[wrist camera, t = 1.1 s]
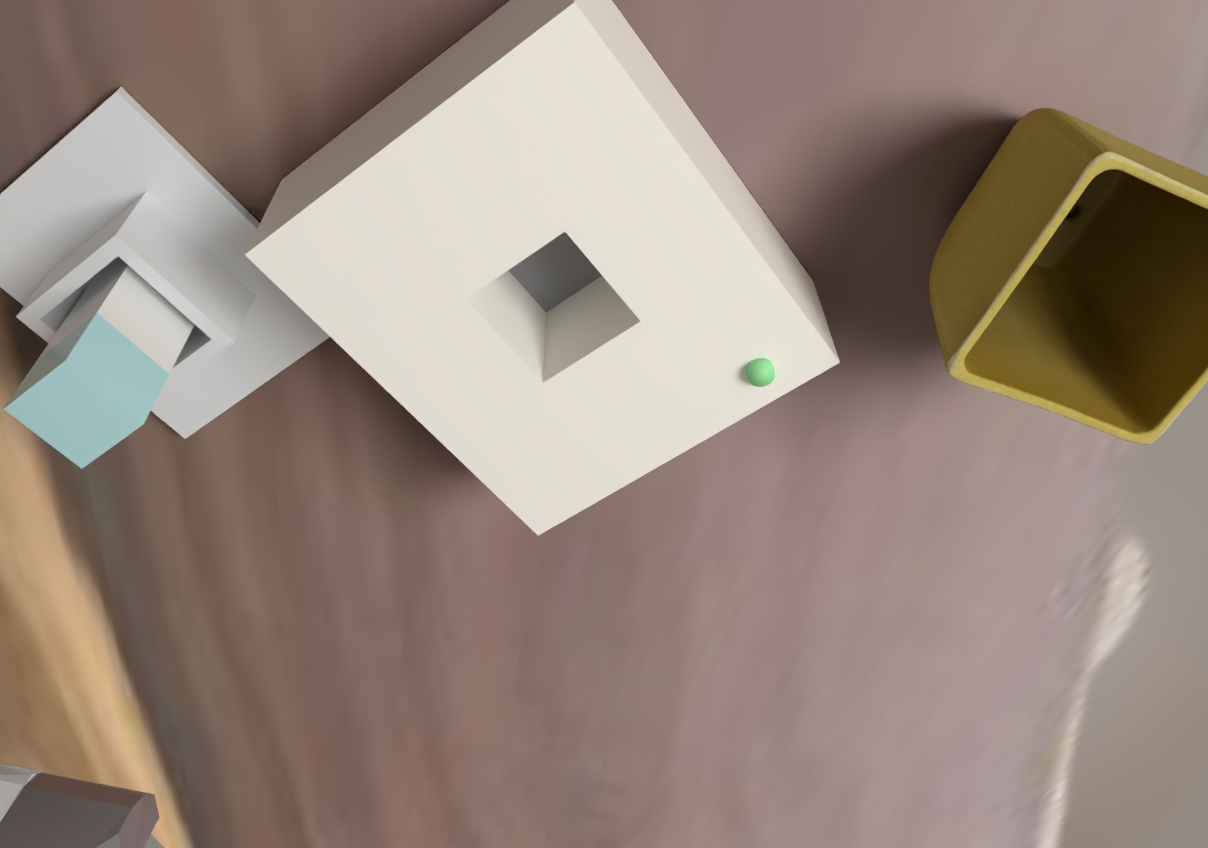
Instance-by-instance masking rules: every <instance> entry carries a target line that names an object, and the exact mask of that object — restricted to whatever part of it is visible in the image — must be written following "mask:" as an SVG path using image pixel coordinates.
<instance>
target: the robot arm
mask: <svg viewBox="0 0 1208 848" xmlns="http://www.w3.org/2000/svg"><path fill="white" fill-rule="evenodd" d="M158 819H159V813H158V809H157V804H156V799H155V795H154V794H149V793H144V792H139V791H134V790H129V789H123V788H118V787H113V786H108V785H103V784H98V783H93V782H87V781H82V780H77V779H72V778H67V777H62V776H57V775H51V774H48V773H45V772H41V771H36V770H30V769H25V768H19V767H14V766H8V765H3V764H0V848H164V847H163V846H162V845H161V844H160V843H159V842H158V841H157V840H156V839H155V838H154V837H153V836H152V835H151V832H152V830H153V828H154V826H155V824H156V822H157V821H158Z"/></svg>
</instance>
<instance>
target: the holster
mask: <svg viewBox="0 0 1208 848" xmlns="http://www.w3.org/2000/svg"><path fill="white" fill-rule="evenodd" d="M259 225H260V223H259V222H258V221H257V220H256V219H255V218H254V217H253V216H252V215H251V214H250V213H249V212H248V211H247V210H246V209H245V208H244V207H243V206H242V205H241V204H240V203H239V202H238V201H237V200H236V199H235V198H234V197H233V196H232V195H231V194H230V193H229V192H228V191H227V190H226V189H225V188H224V187H223V186H222V185H221V184H220V183H219V182H218V181H217V180H216V179H215V178H214V177H213V176H212V175H211V174H209V173H208V172H207V171H206V170H205V169H204V168H203V167H202V166H201V165H200V164H199V163H198V162H197V161H196V160H195V159H194V158H193V157H192V156H191V155H190V154H189V153H188V152H187V151H186V150H185V149H184V148H183V147H182V146H181V145H180V144H179V143H178V142H177V141H176V140H175V139H174V138H173V137H172V136H171V135H170V134H169V133H168V132H167V131H166V130H165V129H164V128H163V127H162V126H161V125H160V124H159V123H158V122H157V121H156V120H155V119H154V118H153V117H152V116H150V115H149V114H148V113H147V112H146V111H145V110H144V109H143V108H142V107H141V106H140V105H139V104H138V103H137V102H136V101H135V100H134V99H133V98H132V97H131V96H130V95H129V94H128V93H127V92H126V91H125V90H124V89H123V88H122V87H120V88H119V89H118V90H116V91H115V92H114V93H113V94H112V95H111V96H110V97H109V98H107V99H106V100H105V101H104V102H103V103H102V104H101V105H100V106H98V107H97V108H96V109H95V110H94V111H93V112H92V113H90V114H89V115H88V116H87V117H86V118H85V119H84V120H83V121H81V122H80V123H79V124H78V125H77V126H76V127H75V128H74V129H72V130H71V131H70V132H69V133H68V134H67V135H66V136H64V137H63V138H62V139H61V140H60V141H59V142H58V143H57V144H55V145H54V146H53V147H52V148H51V149H50V150H49V151H48V152H46V153H45V154H44V155H43V156H42V157H41V158H40V159H38V160H37V161H36V162H35V163H34V164H33V165H32V166H31V167H29V168H28V169H27V170H26V171H25V172H24V173H23V174H22V175H20V176H19V177H18V178H17V179H16V180H15V181H14V182H13V183H11V184H10V185H9V186H8V187H7V188H6V189H5V190H3V191H2V192H1V193H0V287H1V288H2V289H3V290H5V291H6V292H7V293H8V294H10V295H11V296H12V297H13V298H14V299H16V300H17V301H18V302H19V303H20V304H22V305H23V306H24V307H23V308H22V309H21V311H20V312H19V313H18V314H17V316H16V317H17V318H18V319H19V320H20V321H22V322H23V323H24V324H25V325H27V326H28V327H29V328H30V329H31V330H33V331H34V332H35V333H36V334H38V335H39V336H40V337H41V338H42V339H44V340H45V341H46V342H47V343H49V342H50V341H51V339H52V338H53V337H54V335H55V334H56V332H57V331H58V329H59V328H60V326H61V325H62V324H63V322H64V321H65V319H66V318H67V316H68V315H69V313H70V312H71V311H72V309H73V308H74V306H75V305H76V303H77V302H78V300H79V299H80V298H81V296H82V295H83V293H84V292H85V290H86V289H87V287H88V286H89V284H90V283H91V282H92V280H93V279H94V277H95V276H96V275H97V274H98V273H100V272H101V271H102V270H103V269H105V268H106V267H107V266H108V265H110V264H111V263H112V262H113V261H114V260H116V259H117V258H118V257H120V258H121V259H122V260H123V261H124V262H125V263H126V264H128V265H129V266H130V267H131V268H132V269H133V270H134V271H135V272H137V273H138V274H139V275H140V276H141V277H142V278H143V279H144V280H146V281H147V282H148V283H149V284H150V285H151V286H152V287H153V288H154V289H156V290H157V291H158V292H159V293H160V294H161V295H162V296H163V297H165V298H166V299H167V300H168V301H169V302H170V303H171V304H172V305H174V306H175V307H176V308H177V309H178V310H179V311H180V312H181V313H183V314H184V315H185V316H186V317H187V318H188V319H189V320H190V321H192V322H193V323H194V324H195V325H194V327H193V329H192V331H191V333H190V335H189V337H188V339H187V341H186V343H185V345H184V346H183V348H182V350H181V352H180V354H179V356H178V358H177V360H176V362H175V364H174V366H173V368H172V370H171V372H170V374H169V376H168V378H167V380H166V382H165V383H164V385H163V387H162V389H161V391H160V393H159V395H158V397H157V399H156V401H155V403H154V405H153V407H152V409H151V411H152V412H153V413H154V414H155V415H157V416H158V417H159V418H160V419H161V420H163V421H164V422H165V423H166V424H168V425H169V426H170V427H171V428H172V429H174V430H175V431H176V432H177V433H178V434H180V435H181V436H182V437H183V438H185V439H186V438H187V437H189V436H190V435H191V434H193V433H194V432H196V431H197V430H199V429H200V428H201V427H203V426H204V425H206V424H207V423H209V422H210V421H211V420H213V419H214V418H216V417H217V416H218V415H220V414H221V413H223V412H224V411H226V410H227V409H228V408H230V407H231V406H233V405H234V404H235V403H237V402H238V401H240V400H241V399H243V398H244V397H245V396H247V395H248V394H250V393H251V392H252V391H254V390H255V389H257V388H258V387H260V386H261V385H262V384H264V383H265V382H267V381H268V380H269V379H271V378H272V377H274V376H275V375H277V374H278V373H279V372H281V371H282V370H284V369H285V368H287V367H288V366H289V365H291V364H292V363H294V362H295V361H296V360H298V359H299V358H301V357H302V356H304V355H305V354H306V353H308V352H309V351H311V350H312V349H313V348H315V347H316V346H318V345H319V344H321V343H322V342H323V341H325V340H326V339H328V338H329V337H330V336H329V335H328V334H327V333H326V332H325V331H324V330H323V329H322V328H321V327H320V326H319V325H317V324H316V323H315V322H314V321H313V320H312V319H311V318H310V317H309V316H308V315H307V314H306V313H305V312H304V311H303V310H302V309H301V308H300V307H299V306H298V305H297V304H296V303H294V302H293V301H292V300H291V299H290V298H289V297H288V296H287V295H286V294H285V293H284V292H283V291H282V290H281V289H280V288H279V287H278V286H277V285H276V284H275V283H274V282H273V281H271V280H270V279H269V278H268V277H267V276H266V275H265V274H264V273H263V272H262V271H261V270H260V269H259V268H258V267H257V266H256V265H255V264H254V263H253V262H252V261H251V260H250V259H248V258H247V257H246V256H245V253H246V251H247V249H248V247H249V245H250V243H251V241H252V239H253V237H254V235H255V233H256V231H257V229H258V227H259Z"/></svg>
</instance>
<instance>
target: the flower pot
mask: <svg viewBox="0 0 1208 848" xmlns="http://www.w3.org/2000/svg"><path fill="white" fill-rule="evenodd" d="M1074 205H1077V206H1078V207H1079V212H1078V213H1077V214H1076V215H1075V216H1074V217H1071V218H1068V217H1066V216H1067V214H1068V213H1069V211H1070V210H1071V208H1072V207H1073V206H1074ZM929 295H930V302H931V307H932V311H933V315H934V320H935V324H936V328H937V332H938V336H939V340H940V344H941V348H942V352H943V356H944V360H945V365H946V368H947V372H948V374H949V375H950V376H951V377H952V378H954V379H957V380H959V381H961V382H964V383H967V384H970V385H973V386H976V387H979V388H982V389H985V390H988V391H991V392H994V393H998V394H1001V395H1004V396H1007V397H1010V398H1013V399H1015V400H1019V401H1022V402H1025V403H1028V404H1031V405H1034V406H1037V407H1040V408H1043V409H1046V410H1048V411H1051V412H1054V413H1057V414H1059V415H1062V416H1064V417H1067V418H1069V419H1072V420H1075V421H1077V422H1080V423H1082V424H1084V425H1087V426H1089V427H1092V428H1095V429H1097V430H1100V431H1102V432H1106V433H1108V434H1110V435H1113V436H1115V437H1118V438H1120V439H1123V440H1126V441H1129V442H1133V443H1138V444H1144V445H1149V444H1152V443H1153V442H1154V441H1155V440H1156V439H1158V438H1159V437H1160V435H1162V433H1164V431H1165V430H1166V429H1167V428H1168V427H1169V426H1170V424H1171V423H1172V422H1173V421H1174V420H1175V419H1176V417H1177V416H1178V415H1179V414H1180V412H1181V411H1182V410H1183V409H1184V408H1185V407H1186V406H1187V405H1188V404H1189V403H1190V401H1191V400H1192V399H1193V398H1194V397H1195V395H1196V394H1197V393H1198V392H1199V391H1200V389H1201V388H1202V387H1203V385H1205V383H1206V382H1207V381H1208V176H1206V175H1203V174H1201V173H1199V172H1196V171H1194V170H1191V169H1189V168H1187V167H1184V166H1182V165H1180V164H1177V163H1175V162H1173V161H1170V160H1168V159H1165V158H1163V157H1161V156H1158V155H1156V154H1154V153H1151V152H1149V151H1147V150H1144V149H1142V148H1140V147H1138V146H1135V145H1133V144H1131V143H1129V142H1126V141H1124V140H1122V139H1120V138H1118V137H1115V136H1113V135H1111V134H1109V133H1107V132H1105V131H1103V130H1100V129H1098V128H1096V127H1094V126H1092V125H1090V124H1088V123H1086V122H1083V121H1081V120H1079V119H1077V118H1075V117H1073V116H1071V115H1069V114H1066V113H1064V112H1061V111H1058V110H1055V109H1049V108H1041V109H1036V110H1033V111H1031V112H1029V113H1028V114H1026V115H1025V116H1024V117H1022V118H1021V119H1020V120H1019V121H1018V122H1017V123H1016V124H1015V126H1014V127H1013V128H1012V130H1011V131H1010V133H1009V134H1008V136H1007V138H1006V139H1005V141H1004V142H1003V144H1002V145H1001V147H1000V148H999V150H998V151H997V153H996V155H995V156H994V158H993V159H992V161H991V162H990V164H989V165H988V167H987V168H986V170H985V172H984V173H983V175H982V176H981V178H980V179H979V181H978V182H977V184H976V185H975V187H974V188H973V190H972V191H971V193H970V194H969V196H968V197H967V199H966V200H965V202H964V203H963V205H962V206H961V208H960V209H959V211H958V212H957V214H956V215H955V217H954V219H953V220H952V222H951V224H950V226H949V227H948V229H947V231H946V233H945V235H944V236H943V238H942V240H941V242H940V244H939V247H938V249H937V252H936V254H935V257H934V260H933V263H932V267H931V272H930V277H929Z"/></svg>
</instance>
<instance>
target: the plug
mask: <svg viewBox="0 0 1208 848" xmlns="http://www.w3.org/2000/svg"><path fill="white" fill-rule="evenodd" d="M194 325H195V324H194V323H193V322H192V321H190V320H189V319H188V318H187V317H186V316H185V315H184V314H183V313H181V312H180V311H179V310H178V309H177V308H176V307H175V306H174V305H172V304H171V303H170V302H169V301H168V300H167V299H166V298H165V297H163V296H162V295H161V294H160V293H159V292H158V291H157V290H156V289H154V288H153V287H152V286H151V285H150V284H149V283H148V282H147V281H146V280H144V279H143V278H142V277H141V276H140V275H139V274H138V273H137V272H135V271H134V270H133V269H132V268H131V267H130V266H129V265H128V264H126V263H125V262H124V261H123V260H122V259H121V258H120V257H118V258H117V259H116V260H114V261H113V262H112V263H111V264H110V265H108V266H107V267H106V268H105V269H103V270H102V271H101V272H100V273H98V274H97V275H96V276H95V277H94V279H93V280H92V282H91V283H90V284H89V286H88V287H87V289H86V290H85V292H84V293H83V295H82V296H81V298H80V299H79V300H78V302H77V303H76V305H75V306H74V308H73V309H72V311H71V312H70V313H69V315H68V316H67V318H66V319H65V321H64V322H63V324H62V325H61V326H60V328H59V329H58V331H57V332H56V334H55V335H54V337H53V338H52V339H51V341H50V342H49V344H48V345H47V347H46V348H45V350H44V351H43V352H42V354H41V355H40V357H39V358H38V360H37V361H36V363H35V364H34V365H33V367H32V368H31V370H30V371H29V373H28V374H27V376H26V377H25V379H24V380H23V381H22V383H21V384H20V386H19V387H18V389H17V390H16V392H15V393H14V394H13V396H12V397H11V399H10V400H9V402H8V403H7V405H6V406H5V407H4V410H5V411H7V412H8V413H9V414H11V415H12V416H13V417H15V418H16V419H17V420H19V421H20V422H21V423H22V424H24V425H25V426H26V427H28V428H29V429H30V430H32V431H33V432H34V433H36V434H37V435H38V436H40V437H41V438H42V439H43V440H45V441H46V442H47V443H49V444H50V445H51V446H53V447H54V448H55V449H57V450H58V451H59V452H60V453H62V454H63V455H64V456H66V457H67V458H68V459H70V460H71V461H72V462H74V463H75V464H76V465H78V466H79V467H80V468H81V469H82V468H84V467H85V466H86V465H88V464H89V463H91V462H92V461H93V460H95V459H96V458H98V457H99V456H100V455H102V454H103V453H104V452H106V451H107V450H109V449H110V448H111V447H113V446H114V445H115V444H117V443H118V442H120V441H121V440H122V439H124V438H125V437H126V436H128V435H129V434H131V433H132V432H133V431H135V430H136V429H138V428H139V427H140V426H142V425H143V424H144V422H145V420H146V418H147V417H148V415H149V413H150V411H151V409H152V407H153V405H154V403H155V401H156V399H157V397H158V395H159V393H160V391H161V389H162V387H163V385H164V383H165V382H166V380H167V378H168V376H169V374H170V372H171V370H172V368H173V366H174V364H175V362H176V360H177V358H178V356H179V354H180V352H181V350H182V348H183V346H184V345H185V343H186V341H187V339H188V337H189V335H190V333H191V331H192V329H193V327H194Z"/></svg>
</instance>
